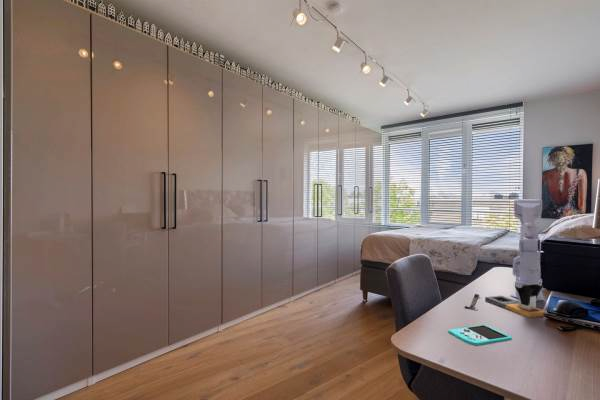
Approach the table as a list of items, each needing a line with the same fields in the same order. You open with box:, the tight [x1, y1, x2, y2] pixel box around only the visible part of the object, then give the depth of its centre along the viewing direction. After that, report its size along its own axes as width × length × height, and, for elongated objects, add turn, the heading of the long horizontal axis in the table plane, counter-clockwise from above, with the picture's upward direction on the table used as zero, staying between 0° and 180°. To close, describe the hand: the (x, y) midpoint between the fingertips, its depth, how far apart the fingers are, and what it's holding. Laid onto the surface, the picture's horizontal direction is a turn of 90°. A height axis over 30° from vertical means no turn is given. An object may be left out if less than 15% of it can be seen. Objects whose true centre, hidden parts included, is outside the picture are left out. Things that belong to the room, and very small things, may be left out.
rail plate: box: [484, 295, 546, 319], centre depth 122 cm, size 9×19×2 cm, turn 16°
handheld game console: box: [447, 324, 513, 346], centre depth 97 cm, size 10×16×1 cm, turn 107°
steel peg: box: [518, 295, 537, 312], centre depth 117 cm, size 4×4×6 cm
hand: (528, 303), depth 117 cm, fingers closed on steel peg, 4 cm apart
